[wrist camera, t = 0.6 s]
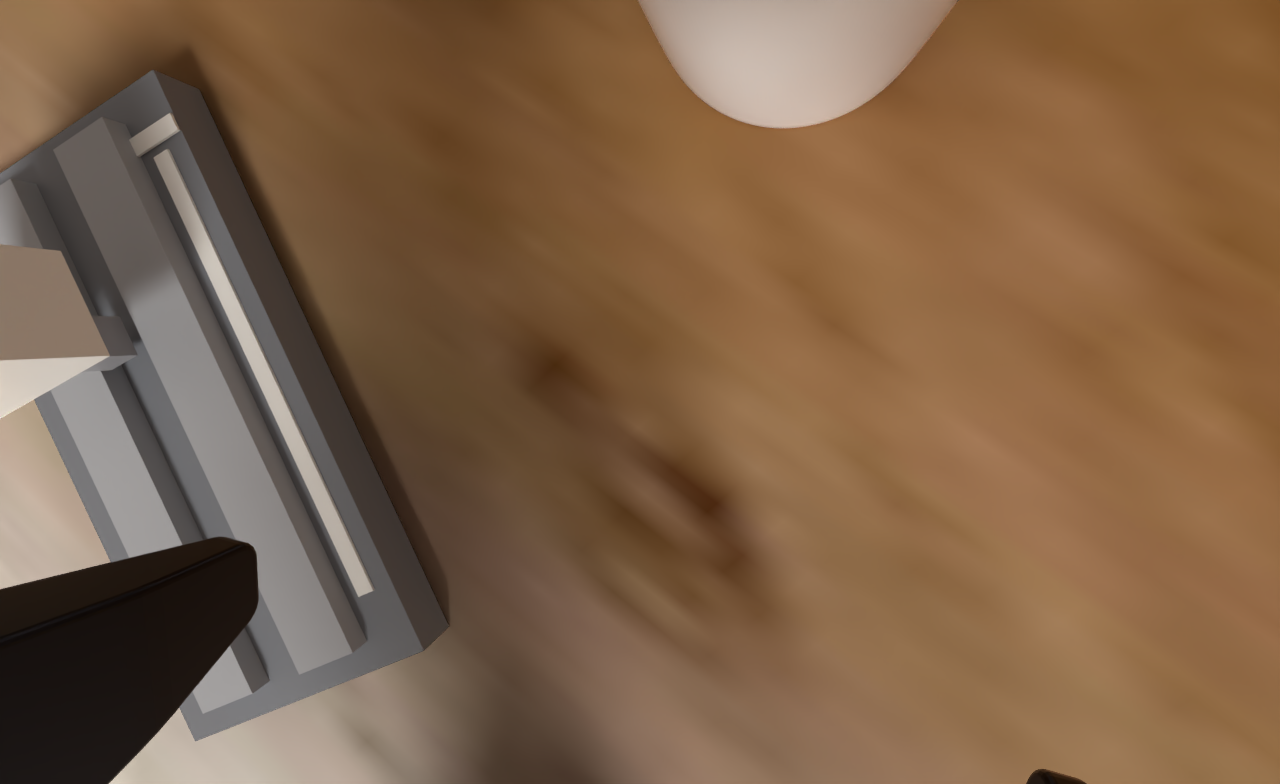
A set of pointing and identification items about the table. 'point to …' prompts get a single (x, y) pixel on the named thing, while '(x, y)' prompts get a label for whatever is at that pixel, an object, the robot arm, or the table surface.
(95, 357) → the fader
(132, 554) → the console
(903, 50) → the candle holder
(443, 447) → the table surface
